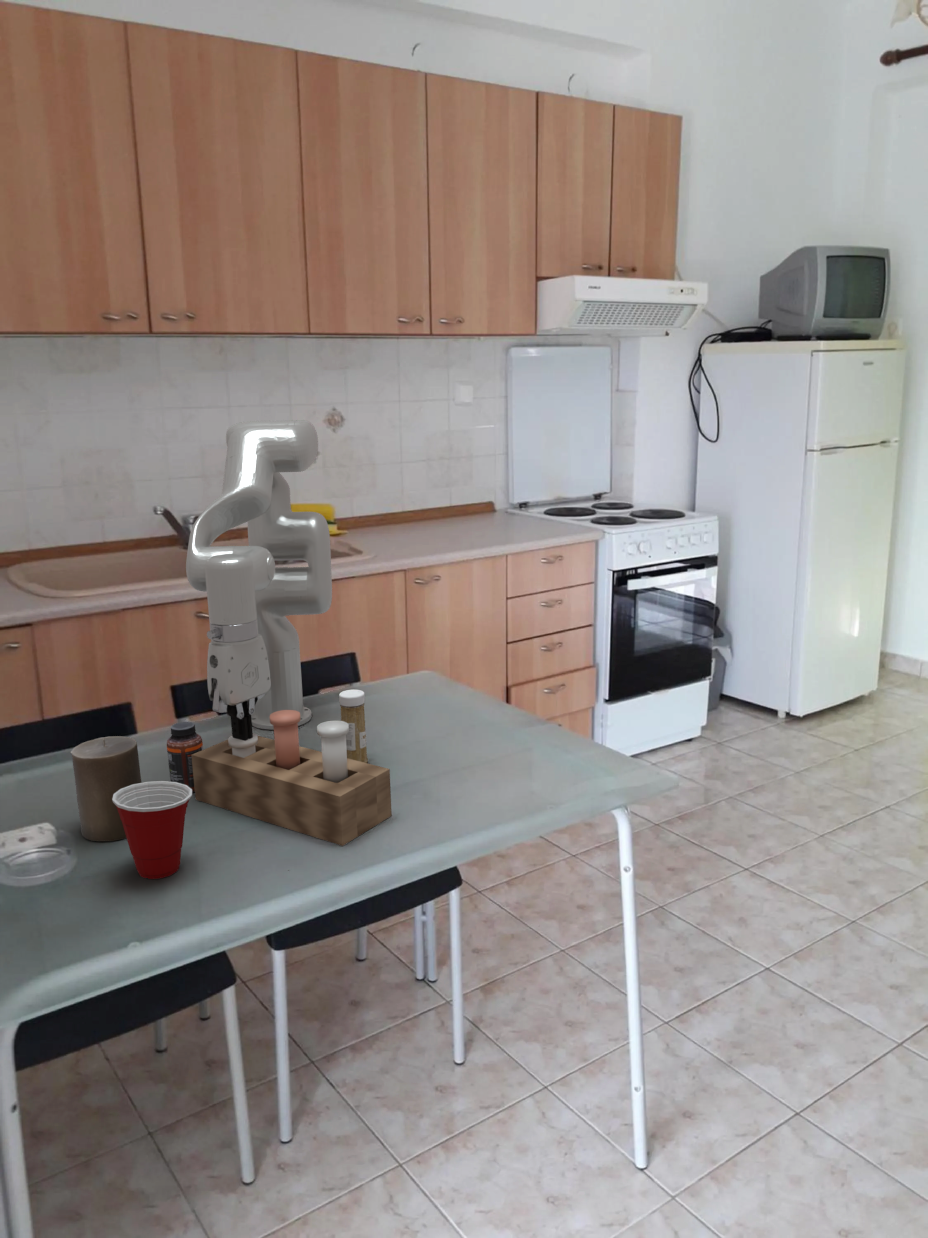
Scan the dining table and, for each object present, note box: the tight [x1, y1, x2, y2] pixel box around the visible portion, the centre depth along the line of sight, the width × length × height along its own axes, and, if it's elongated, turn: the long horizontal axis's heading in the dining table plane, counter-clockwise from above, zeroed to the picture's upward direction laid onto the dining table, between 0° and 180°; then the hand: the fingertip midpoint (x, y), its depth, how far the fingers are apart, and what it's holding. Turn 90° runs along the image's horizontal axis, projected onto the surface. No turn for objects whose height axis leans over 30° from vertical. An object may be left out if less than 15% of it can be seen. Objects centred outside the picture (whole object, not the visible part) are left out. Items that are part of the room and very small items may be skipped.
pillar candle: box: [70, 735, 143, 842], centre depth 152 cm, size 10×10×15 cm
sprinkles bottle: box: [338, 689, 369, 763], centre depth 176 cm, size 5×5×14 cm
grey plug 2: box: [316, 720, 349, 783], centre depth 152 cm, size 5×5×10 cm
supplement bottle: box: [166, 721, 204, 793], centre depth 167 cm, size 6×6×11 cm
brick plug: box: [270, 710, 301, 770], centre depth 157 cm, size 5×5×10 cm
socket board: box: [191, 735, 392, 847], centre depth 159 cm, size 32×12×8 cm, turn 57°
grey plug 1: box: [227, 732, 259, 758], centre depth 164 cm, size 5×5×10 cm
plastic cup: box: [112, 780, 193, 880], centre depth 139 cm, size 11×11×12 cm
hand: (242, 737), depth 163 cm, fingers closed
